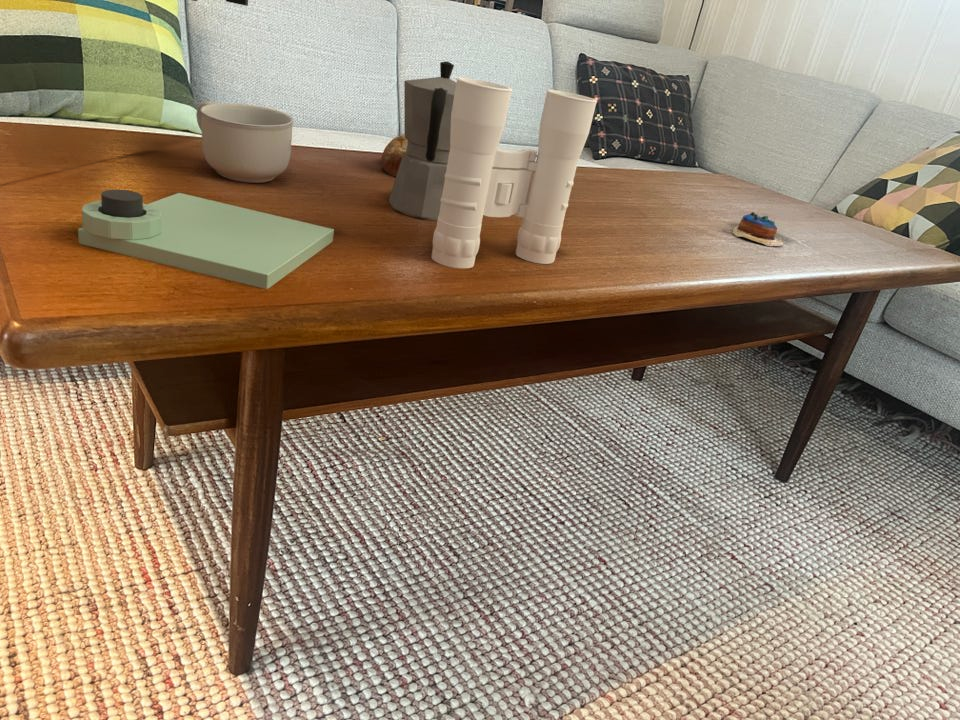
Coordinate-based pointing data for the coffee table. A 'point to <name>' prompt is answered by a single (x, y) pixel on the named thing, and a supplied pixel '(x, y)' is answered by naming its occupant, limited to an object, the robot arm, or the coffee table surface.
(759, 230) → the dessert
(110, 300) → the coffee table surface
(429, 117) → the coffeepot
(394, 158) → the bread roll
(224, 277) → the scale
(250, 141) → the teacup
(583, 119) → the binoculars
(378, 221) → the coffee table surface
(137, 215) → the button
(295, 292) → the coffee table surface
